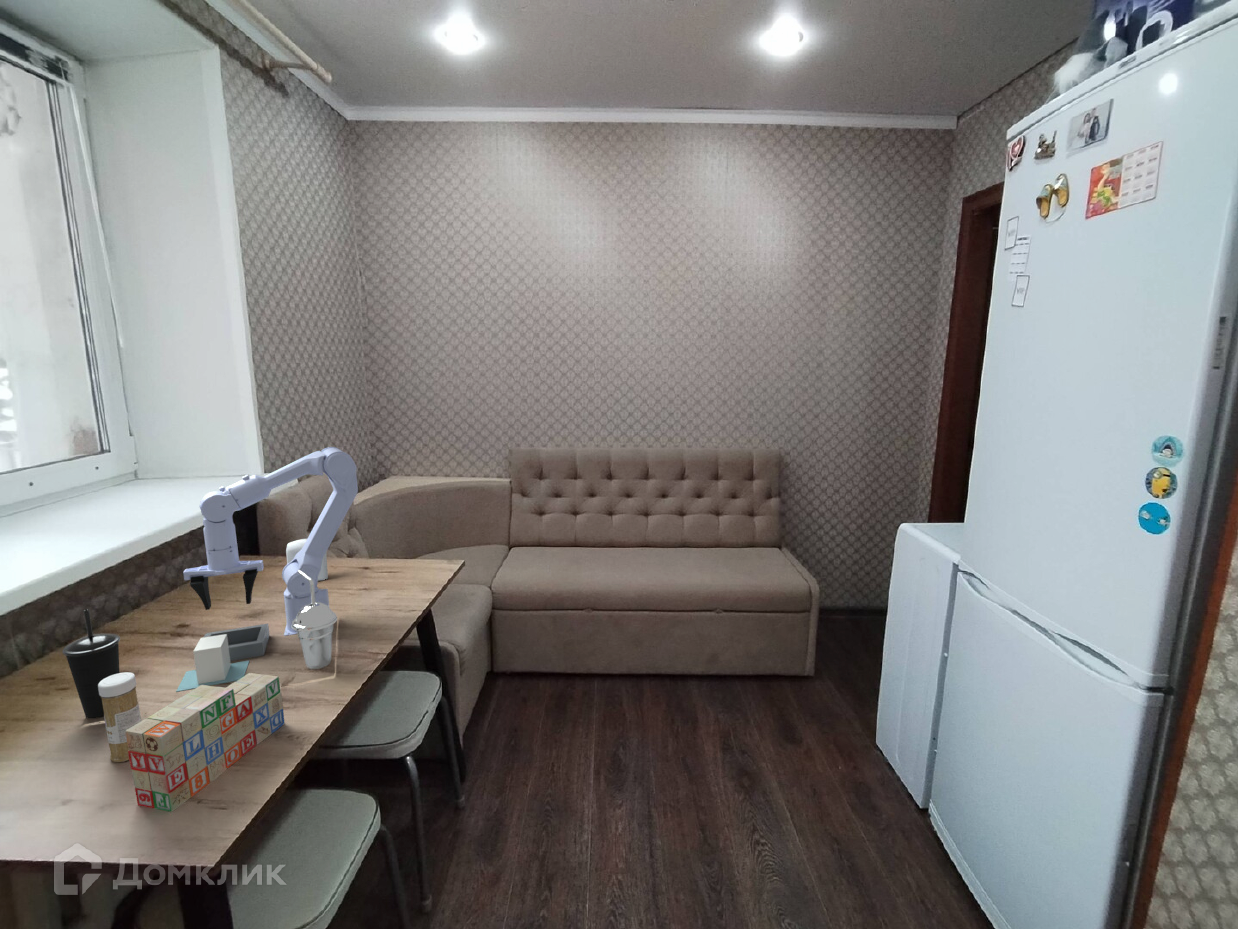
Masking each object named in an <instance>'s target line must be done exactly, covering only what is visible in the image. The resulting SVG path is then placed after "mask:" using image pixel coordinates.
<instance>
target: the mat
mask: <svg viewBox="0 0 1238 929" xmlns="http://www.w3.org/2000/svg"><path fill="white" fill-rule="evenodd" d="M230 663H231V662H230ZM249 663H250V660H243V661H238V662H232V663H231V666H230V668H229V671H228V673H227V676H226V678H225V680H219V681H214V682H208V683H203V684H198V682H197V675H196V669H192V670H186V672H185V673H184V675H183V678H182V680H181V681H180V683H179V685H178V687H177V689H176V691H175V692H176V693H178V692H182V691H188V690H189V691H191V690H194V689H195V688H197V687H199V686H200V685H207V686H215V685H221V684H226V683H227V684H228V683H231V682H232V683H234V682H236V681H238V680H239V679H241V678H242V677H244V676H245V675H246V673H247V669H248V666H249Z"/></svg>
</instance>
